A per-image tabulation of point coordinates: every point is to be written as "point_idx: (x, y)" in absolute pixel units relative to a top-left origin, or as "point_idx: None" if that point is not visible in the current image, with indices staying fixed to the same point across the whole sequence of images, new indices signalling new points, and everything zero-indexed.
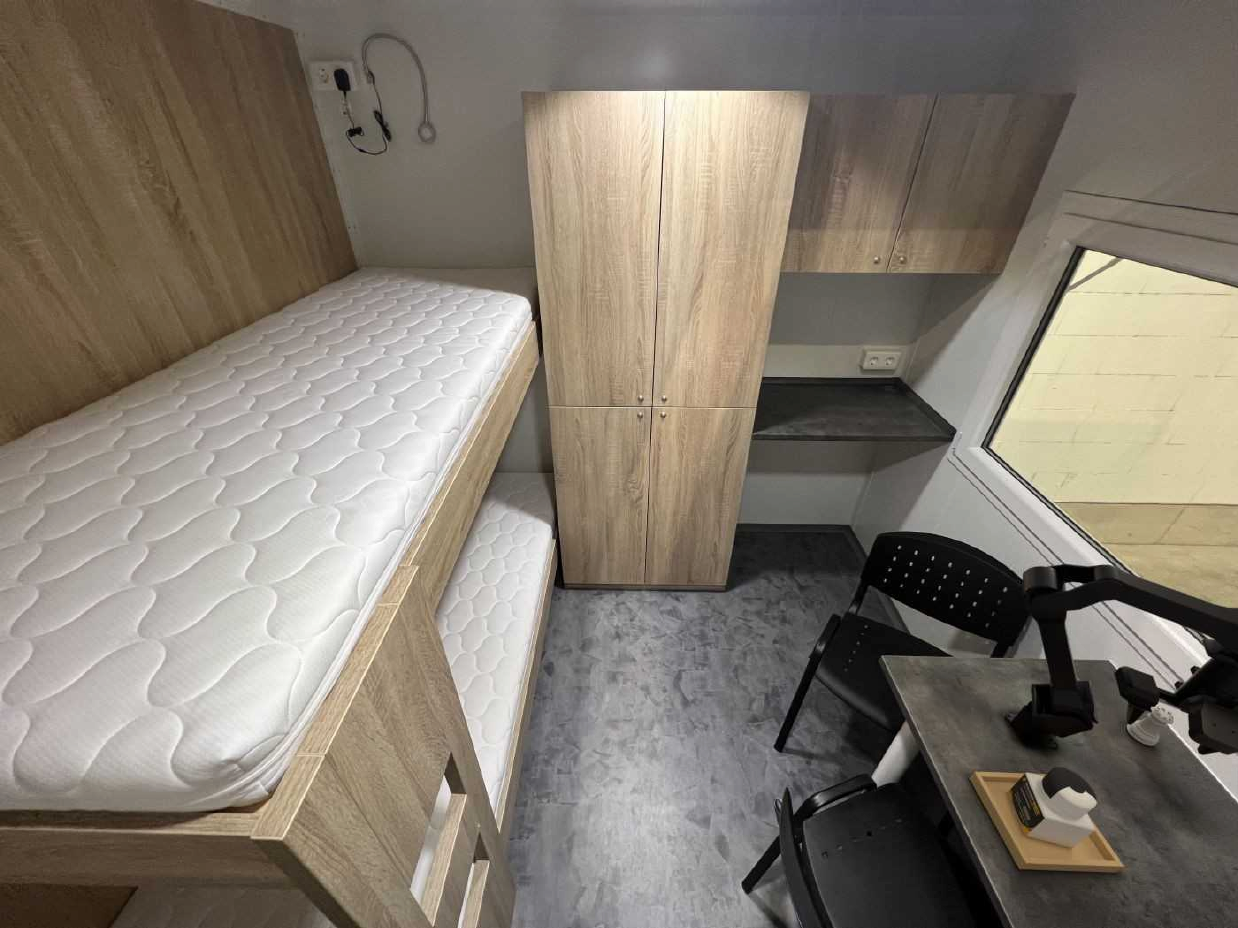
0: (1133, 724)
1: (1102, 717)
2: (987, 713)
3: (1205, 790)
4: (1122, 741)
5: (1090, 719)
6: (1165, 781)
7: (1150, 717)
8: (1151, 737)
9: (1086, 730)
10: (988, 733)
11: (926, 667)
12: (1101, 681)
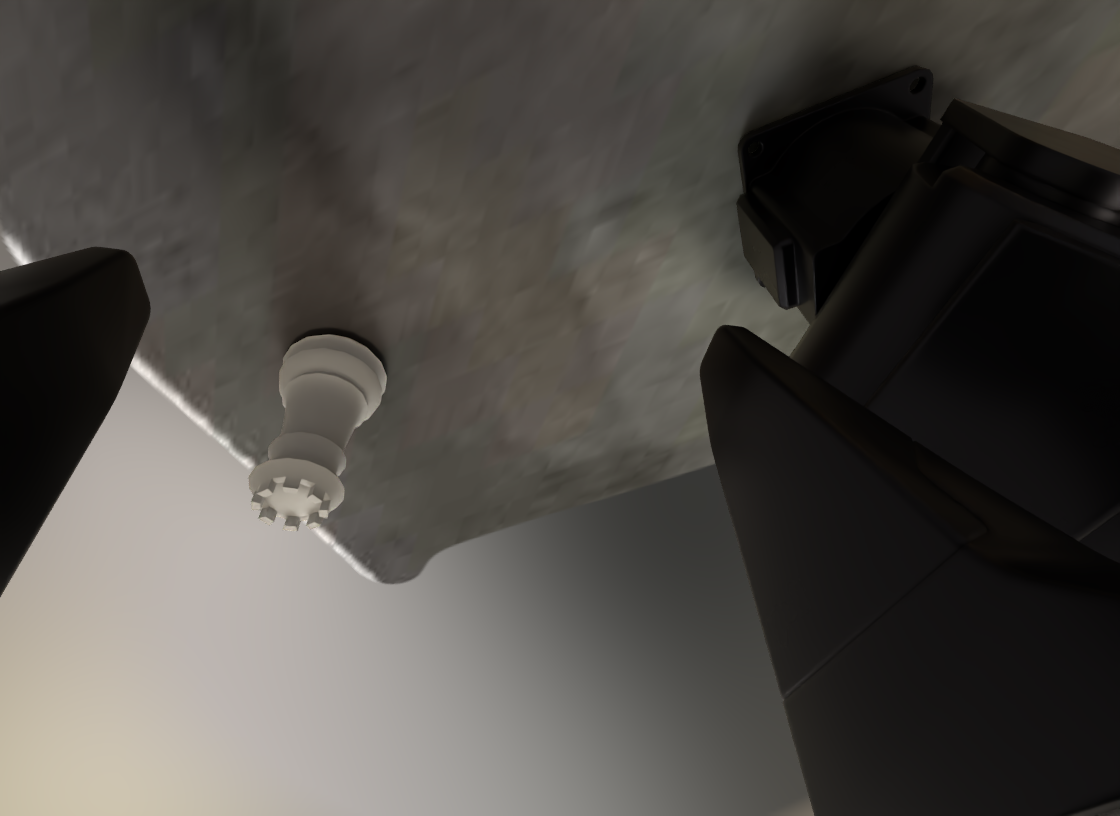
0: (373, 402)
1: (464, 390)
2: None
3: (89, 194)
4: (413, 310)
5: (1090, 232)
6: (260, 163)
7: (337, 458)
8: (313, 369)
9: (920, 174)
10: (1084, 71)
11: None
12: (427, 521)
